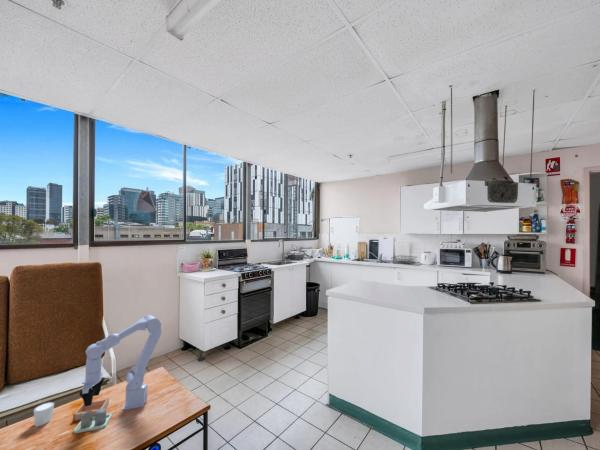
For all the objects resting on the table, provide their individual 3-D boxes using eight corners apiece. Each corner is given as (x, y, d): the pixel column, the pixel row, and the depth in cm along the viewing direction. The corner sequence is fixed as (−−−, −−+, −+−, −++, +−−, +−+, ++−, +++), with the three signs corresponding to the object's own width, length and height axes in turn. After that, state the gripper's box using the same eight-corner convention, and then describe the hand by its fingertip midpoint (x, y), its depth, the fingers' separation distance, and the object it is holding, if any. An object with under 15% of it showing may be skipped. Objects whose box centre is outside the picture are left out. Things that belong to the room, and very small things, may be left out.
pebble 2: (107, 418, 120) (107, 407, 120) (103, 424, 116) (104, 413, 116) (97, 420, 118) (97, 409, 119) (93, 426, 115) (93, 415, 115)
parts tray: (112, 415, 122) (112, 413, 122) (104, 428, 114) (105, 425, 114) (82, 421, 118) (82, 418, 118) (72, 434, 110) (72, 431, 110)
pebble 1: (93, 421, 118) (94, 410, 118) (89, 427, 114) (90, 415, 114) (83, 423, 117) (83, 411, 117) (78, 429, 113) (79, 417, 113)
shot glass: (40, 428, 114) (41, 412, 114) (28, 426, 115) (29, 410, 115) (57, 418, 120) (58, 402, 121) (46, 415, 122) (47, 400, 122)
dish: (108, 405, 130) (108, 398, 130) (100, 416, 121) (101, 410, 121) (82, 409, 126) (82, 402, 127) (72, 421, 118) (73, 414, 118)
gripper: (91, 364, 125) (89, 392, 125) (74, 380, 111) (73, 412, 111) (107, 362, 127) (106, 390, 127) (93, 378, 114) (92, 409, 113)
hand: (92, 400), depth 119 cm, fingers open, 7 cm apart
